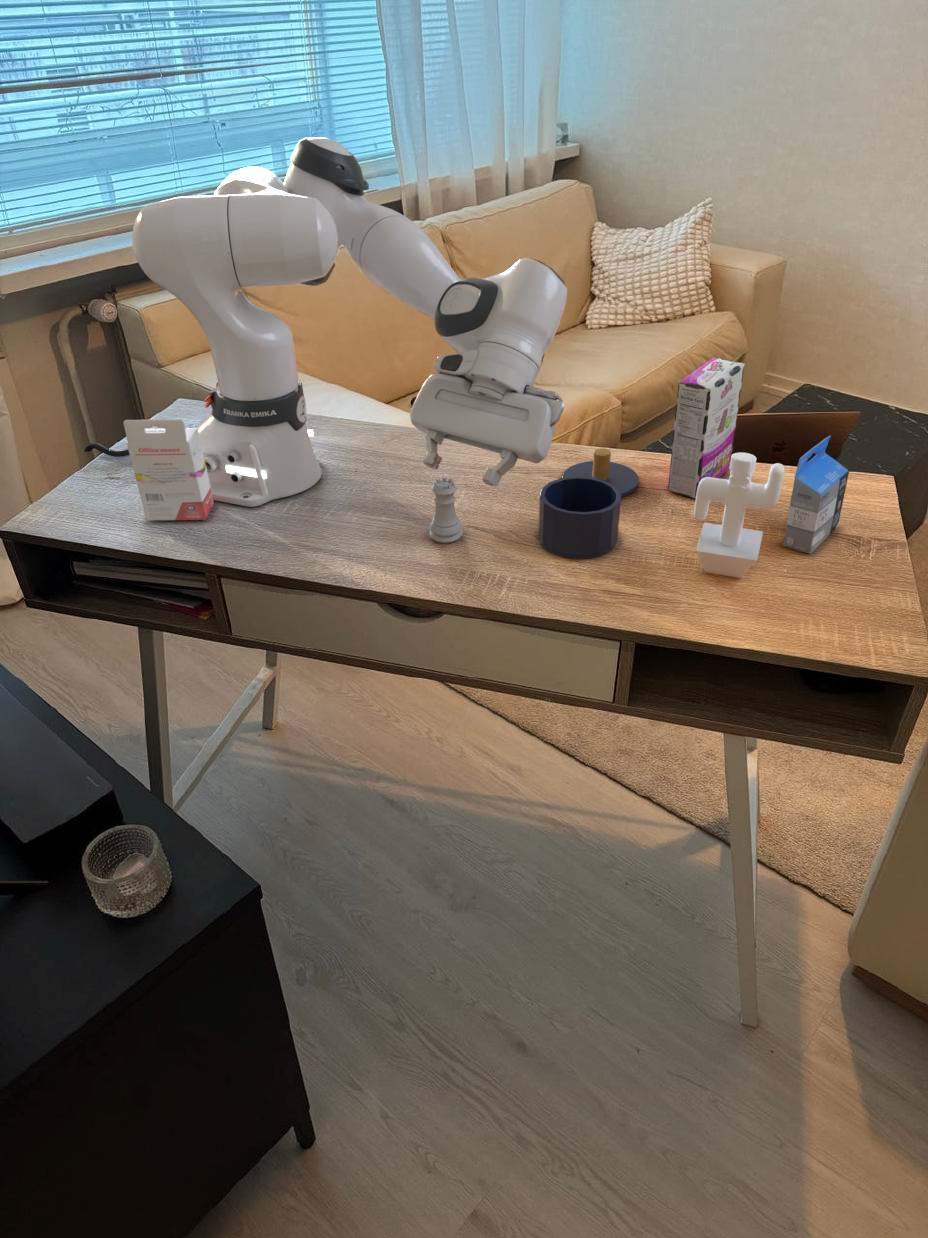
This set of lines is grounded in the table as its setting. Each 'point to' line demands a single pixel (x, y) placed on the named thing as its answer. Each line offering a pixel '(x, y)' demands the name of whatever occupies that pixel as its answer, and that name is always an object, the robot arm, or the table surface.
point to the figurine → (734, 516)
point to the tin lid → (606, 472)
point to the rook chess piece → (445, 513)
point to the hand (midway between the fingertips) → (458, 475)
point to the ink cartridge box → (169, 469)
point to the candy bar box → (704, 424)
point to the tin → (579, 517)
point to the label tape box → (815, 499)
